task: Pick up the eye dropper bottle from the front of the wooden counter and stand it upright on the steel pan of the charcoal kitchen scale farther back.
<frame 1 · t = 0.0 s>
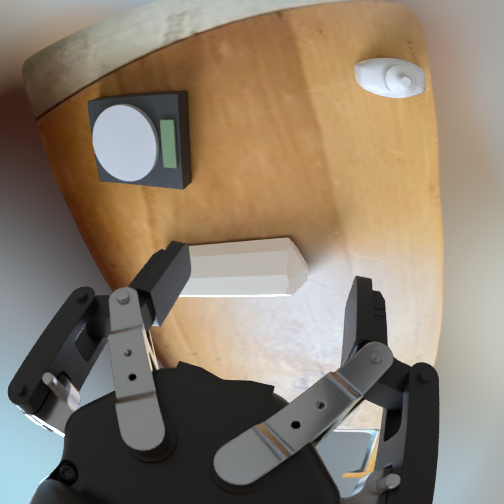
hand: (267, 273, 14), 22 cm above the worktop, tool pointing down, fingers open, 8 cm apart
eye dropper bottle: (380, 74, 25), on the worktop
chamfered white bar: (229, 260, 45), on the worktop
kitchen scale: (141, 136, 36), on the worktop
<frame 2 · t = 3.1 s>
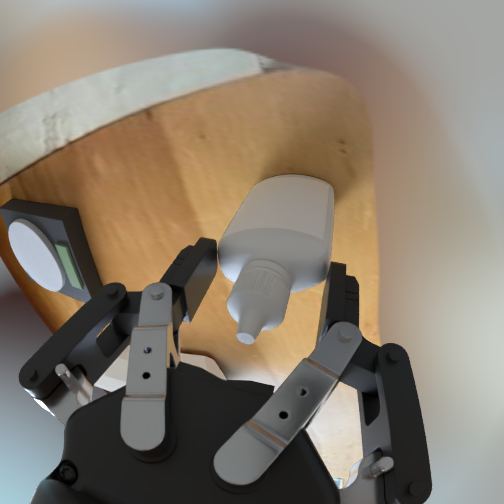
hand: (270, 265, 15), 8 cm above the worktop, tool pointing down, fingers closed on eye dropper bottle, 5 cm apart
eye dropper bottle: (293, 195, 21), on the worktop, touching gripper
chamfered white bar: (158, 358, 41), on the worktop
kitchen scale: (53, 244, 32), on the worktop
when the fingers open (11 cm above the worktop, at t = 10.6 s): eye dropper bottle stays where it is, resting on kitchen scale.
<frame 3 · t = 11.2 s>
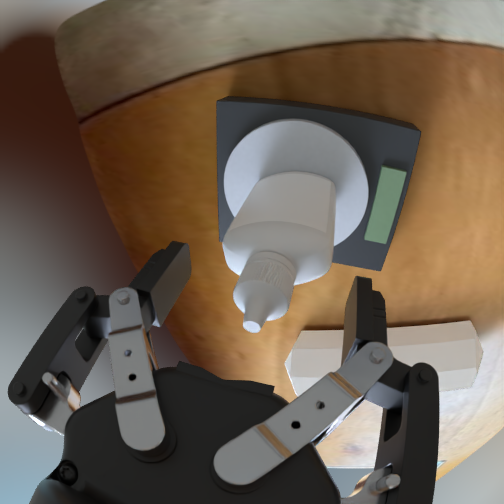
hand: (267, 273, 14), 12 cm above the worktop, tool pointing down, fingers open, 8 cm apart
eye dropper bottle: (296, 191, 21), point 3 cm above the worktop, touching kitchen scale
chamfered white bar: (386, 341, 32), on the worktop
kitchen scale: (312, 178, 23), on the worktop
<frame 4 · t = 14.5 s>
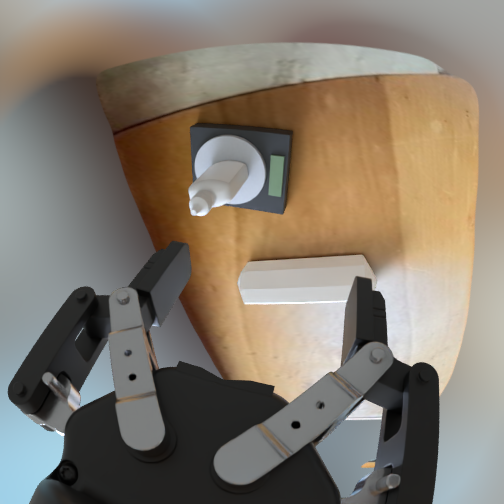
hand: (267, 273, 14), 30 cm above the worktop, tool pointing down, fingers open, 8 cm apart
eye dropper bottle: (229, 170, 41), point 3 cm above the worktop, touching kitchen scale
chamfered white bar: (307, 272, 52), on the worktop
kitchen scale: (242, 164, 43), on the worktop
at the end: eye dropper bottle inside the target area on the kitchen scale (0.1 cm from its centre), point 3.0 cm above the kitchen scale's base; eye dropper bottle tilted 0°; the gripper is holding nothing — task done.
